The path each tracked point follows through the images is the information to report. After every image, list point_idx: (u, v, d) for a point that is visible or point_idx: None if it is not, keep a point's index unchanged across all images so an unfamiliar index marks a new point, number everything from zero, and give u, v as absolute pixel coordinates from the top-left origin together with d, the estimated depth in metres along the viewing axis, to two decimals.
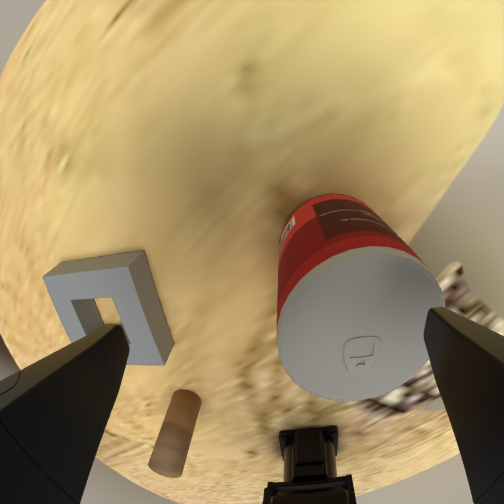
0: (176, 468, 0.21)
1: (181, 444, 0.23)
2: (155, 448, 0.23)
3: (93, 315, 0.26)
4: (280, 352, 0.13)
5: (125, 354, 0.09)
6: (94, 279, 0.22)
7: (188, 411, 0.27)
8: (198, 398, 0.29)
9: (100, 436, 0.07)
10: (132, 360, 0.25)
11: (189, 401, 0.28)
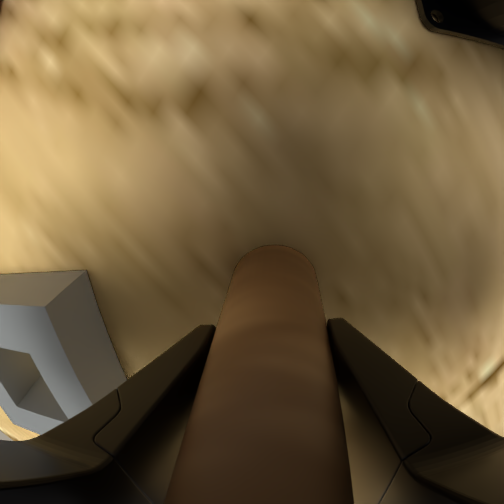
0: None
1: (212, 398, 0.05)
2: None
3: None
4: None
5: None
6: None
7: (231, 295, 0.09)
8: (257, 250, 0.11)
9: None
10: (65, 370, 0.10)
11: (234, 280, 0.10)
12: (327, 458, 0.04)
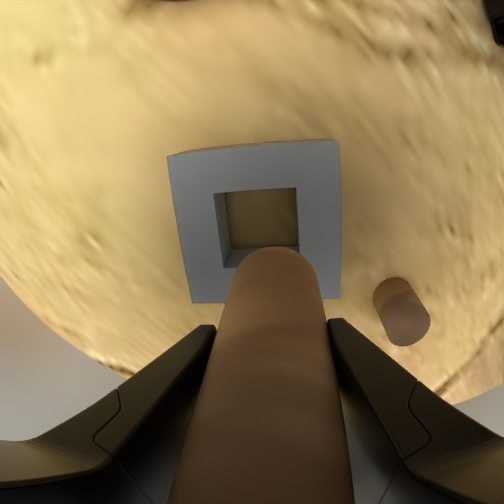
0: None
1: (214, 402, 0.05)
2: None
3: None
4: None
5: None
6: (187, 214, 0.17)
7: (232, 297, 0.09)
8: (258, 252, 0.11)
9: None
10: (331, 196, 0.16)
11: (235, 282, 0.10)
12: (329, 461, 0.04)
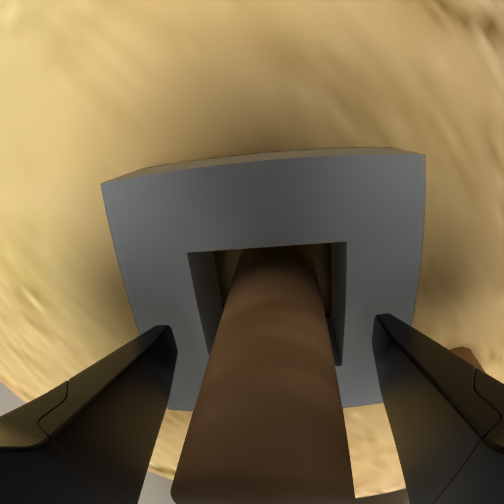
0: (215, 476, 0.03)
1: (223, 363, 0.06)
2: None
3: None
4: None
5: (174, 357, 0.09)
6: (145, 287, 0.09)
7: (237, 280, 0.10)
8: None
9: (152, 446, 0.07)
10: (406, 257, 0.08)
11: (238, 268, 0.11)
12: (324, 411, 0.05)
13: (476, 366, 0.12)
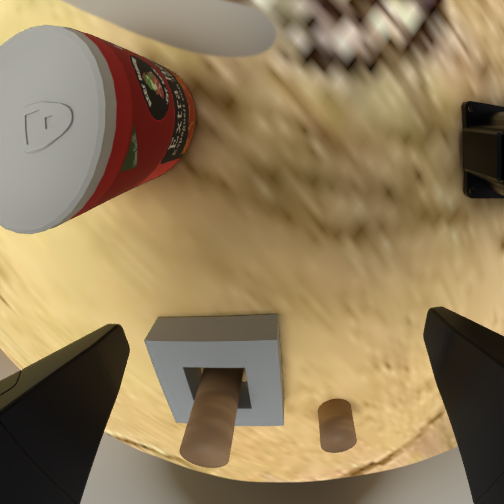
0: (190, 444, 0.16)
1: (195, 413, 0.18)
2: None
3: None
4: (35, 231, 0.09)
5: (125, 354, 0.09)
6: (165, 376, 0.22)
7: (204, 375, 0.22)
8: None
9: (100, 436, 0.07)
10: (272, 373, 0.20)
11: None
12: (221, 430, 0.17)
13: (342, 411, 0.24)
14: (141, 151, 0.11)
